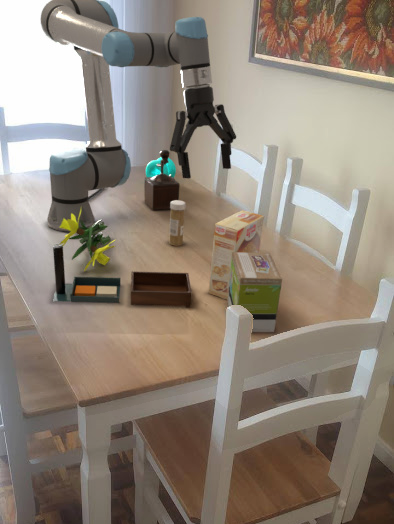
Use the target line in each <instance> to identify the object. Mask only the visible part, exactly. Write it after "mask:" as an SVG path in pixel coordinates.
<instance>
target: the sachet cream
mask: <svg viewBox="0 0 394 524" xmlns="http://www.w3.org/2000/svg"><path fill="white" fill-rule="evenodd" d="M116 295H117V287H116V286H98V287H97V296H99V297H116Z"/></svg>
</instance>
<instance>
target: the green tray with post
mask: <svg viewBox="0 0 394 524" xmlns="http://www.w3.org/2000/svg"><path fill="white" fill-rule="evenodd" d="M52 252H53V267H54V268H53V269H54V282H55V291H54V295H53V298H52V302H65V303H66V302H70V303H108V304H111V303H112V304H113V303H114V304H119V303H120V296H121V277H107V276H106V277H105V276H104V277H103V276H73V281H72V283H66V275H65V258H64V257H65V256H64V246H63V244H60V243H59V244H53V245H52ZM76 286H96V291H95V296H75V289H76ZM98 286H116V287H117V295H116V297H99V296H97V287H98Z"/></svg>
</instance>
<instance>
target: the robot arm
mask: <svg viewBox="0 0 394 524" xmlns="http://www.w3.org/2000/svg"><path fill="white" fill-rule="evenodd" d="M40 25H41V29H42V31H43V33H44V35H45V36H46V37H47V39H49V40H50V41H53V42H54V43H57V44H59V45H63V46H69V45H72V46H73V51H74V53H75V54H76V55H77V56H78V58H79V60H80V69H81V77H82V86H83V87H82V88H83V94H84V95H83V96H84V103H85V112H86V120H87V129H88V130H87V131H88V139H89V140H88V141H87V144H86V145H85V149H83V148H78V147H77V148H76V147H73V148H71V147H69V148H63V149H60V150H57V151H54V152H53V153H52V154H51V155H50V157H49V165H48V166H49V167H48V171H49V178H50V192H51V203H50V207H49V211H48V215H47V219H46V220H47V227H49V228H50V229H53V230H55V231H58V232H64V233H70V232H71V231H70V230H67V229H63V228H60V226H61V223H62V221H63V218H64V219H66V220H67V219H71V213H72V214H73V215H74V216H75V218H76V222H78V218H79V223H78V226H80V227H82V226H81V222H80V220H81V221H82V222H83V223H84V225H85V226H86V227H87V228H90V227H91V226H92V225H93V224H94V223H96V220H95V216H94V213H93V210H92V207H91V204H90V202H89V200H90V199H92V198H93V197H94V196H96V195H97V194H98V193H99V192H101V191H102V190H103V189H108V188H116V187H120V186H123V185H124V184H126V182H127V181H128V180H129V178H130V175H131V171H132V170H131V169H132V164H131V158H130V156H129V153H128V152H127V151H126V150H125V149H123V146H122V143H121V142H120V141H119V140H118V138H117V132H116V122H115V112H114V101H113V91H112V81H111V71H110V67H118V68H125V67H155V68H168V67H170V66H171V67H172V66H176V65H180V74H181V75H180V77H181V84H182V88H184V90H183V99H184V105H185V108H186V109H185V111H184V110H177V111H176V112H175V120H176V121H175V125H174V130H173V134H172V137H171V141H170V145H169V150H170V151H169V152H174V153H176V155H177V161H178V165H179V166H180V167H181V168H180V169H181V175H182V179H191V178H192V176H191V169H190V161H189V152H187V151H186V149H187V147H188V145H189V143H190V142H191V139H192V137H193V135H194V132H195V131H196V130H197V129H198V128H201V127H207V126H208V127H209V128H210V129H211V130H212V131H213V132H214V133H215V134H216V136H217V138H219V140H220V141H221V142H222V143H220V152H221V153H220V154H221V164H222V169H223V170H231V169H232V164H231V155H232V145H231V144H232V143H234V140H236V139H237V135H236V133H235V131H234V128H233V126H232V124H231V122H230V120H229V118H228V117H227V115H226V111H225V106H224V104H223V103H221V104H220V103H219V104H215V105H214V101H215V99H214V98H215V97H214V89H213V87H212V86H211V84H212V83H213V79H212V78H213V77H212V70H211V69H212V68H211V62H210V61H211V59H210V49H209V34H208V31H207V30H208V29H207V23H206V20H205V18H204V17H202V16H191V17H183V18H180V19H177V20H176V21H175V23H174V25H175V27H174V31H170V32H132V31H127V30H124V29H121V28H119V27H120V26H119V21H118V17H117V13H116V12H115V10H114V8H113V7H112V6H111V5H110V3H108V2H107V1H104V0H50V1H48V2H47V3H46V4H45V5H44V6H43V8H42V11H41V13H40ZM214 115H215V116H216V118H217V119H216V118H215V116H214ZM186 120H187V123H186ZM218 122H219V123H218ZM90 191H94V192H93V193H92V194H90V195H89V192H90ZM80 210H81V214H80ZM79 214H80V217H79Z"/></svg>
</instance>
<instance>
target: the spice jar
mask: <svg viewBox="0 0 394 524" xmlns="http://www.w3.org/2000/svg"><path fill="white" fill-rule="evenodd" d="M170 208H171V209H170V215H169V239H168V243H169V245H171V246H174V247H177V246H178V247H179V246H182V245H183V244H184V229H185V227H184V224H185V209H186V201H183V200H180V199H179V200H174V201H171V203H170Z"/></svg>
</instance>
